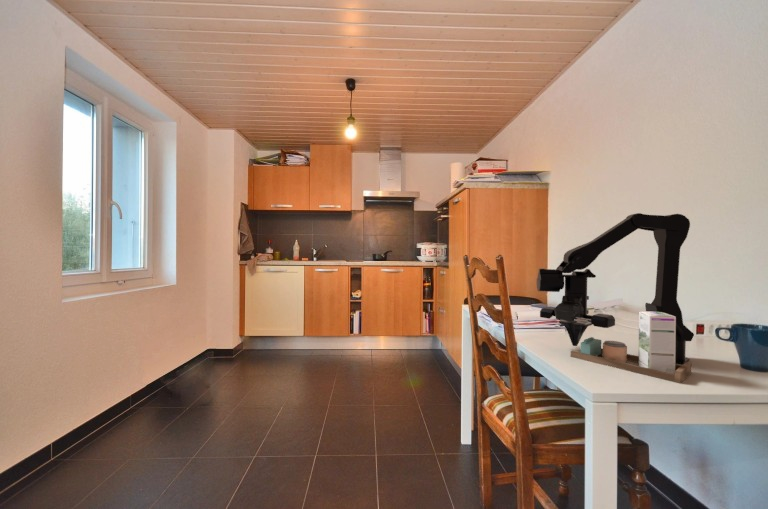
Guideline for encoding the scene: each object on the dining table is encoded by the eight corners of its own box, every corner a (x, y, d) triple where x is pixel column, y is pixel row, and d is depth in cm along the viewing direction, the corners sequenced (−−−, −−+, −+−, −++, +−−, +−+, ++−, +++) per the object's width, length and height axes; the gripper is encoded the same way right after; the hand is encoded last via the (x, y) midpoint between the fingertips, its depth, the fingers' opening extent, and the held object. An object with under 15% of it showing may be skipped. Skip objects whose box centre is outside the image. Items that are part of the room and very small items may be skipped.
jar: (629, 362, 94) (630, 343, 94) (622, 366, 90) (622, 347, 90) (606, 357, 98) (607, 339, 98) (599, 361, 95) (599, 342, 94)
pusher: (592, 351, 102) (592, 336, 102) (601, 353, 100) (601, 337, 100) (580, 356, 97) (580, 340, 97) (589, 359, 95) (589, 342, 95)
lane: (586, 350, 104) (586, 341, 104) (691, 373, 86) (691, 363, 86) (570, 356, 98) (570, 347, 98) (680, 383, 79) (680, 372, 79)
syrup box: (676, 376, 84) (678, 316, 83) (648, 374, 85) (649, 314, 85) (662, 368, 89) (664, 311, 89) (636, 366, 90) (638, 310, 90)
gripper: (530, 291, 104) (530, 343, 105) (599, 298, 90) (598, 359, 90) (549, 288, 111) (548, 337, 111) (616, 295, 96) (615, 351, 97)
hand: (574, 345), depth 102 cm, fingers closed
